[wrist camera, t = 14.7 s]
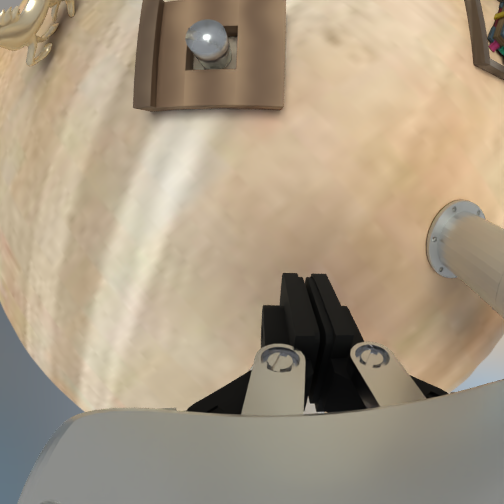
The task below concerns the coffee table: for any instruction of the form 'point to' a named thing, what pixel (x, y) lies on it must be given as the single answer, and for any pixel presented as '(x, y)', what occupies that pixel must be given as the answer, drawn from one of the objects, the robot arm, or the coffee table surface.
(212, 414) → the robot arm
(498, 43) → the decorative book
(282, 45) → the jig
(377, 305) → the coffee table surface
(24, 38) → the unicorn
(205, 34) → the blue-grey domed cylinder
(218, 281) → the coffee table surface
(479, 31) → the book frame
